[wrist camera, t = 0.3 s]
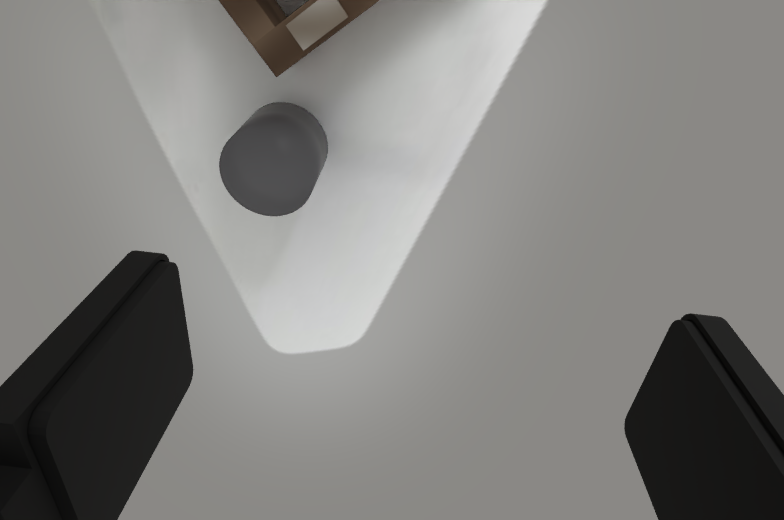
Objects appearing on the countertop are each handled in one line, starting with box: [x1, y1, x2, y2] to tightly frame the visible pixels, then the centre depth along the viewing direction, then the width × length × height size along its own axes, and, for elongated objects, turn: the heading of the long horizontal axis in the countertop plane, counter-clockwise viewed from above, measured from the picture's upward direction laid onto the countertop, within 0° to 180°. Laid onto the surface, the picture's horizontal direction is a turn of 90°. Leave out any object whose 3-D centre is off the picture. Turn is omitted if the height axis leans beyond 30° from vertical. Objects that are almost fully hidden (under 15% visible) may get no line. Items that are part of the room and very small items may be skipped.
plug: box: [219, 102, 328, 216], centre depth 41 cm, size 7×7×10 cm
